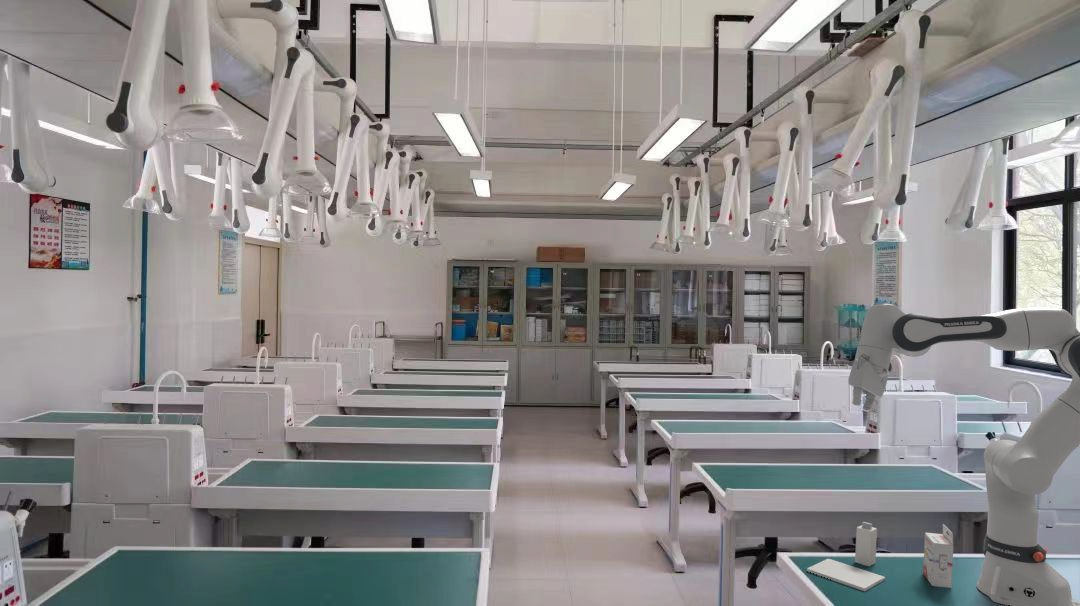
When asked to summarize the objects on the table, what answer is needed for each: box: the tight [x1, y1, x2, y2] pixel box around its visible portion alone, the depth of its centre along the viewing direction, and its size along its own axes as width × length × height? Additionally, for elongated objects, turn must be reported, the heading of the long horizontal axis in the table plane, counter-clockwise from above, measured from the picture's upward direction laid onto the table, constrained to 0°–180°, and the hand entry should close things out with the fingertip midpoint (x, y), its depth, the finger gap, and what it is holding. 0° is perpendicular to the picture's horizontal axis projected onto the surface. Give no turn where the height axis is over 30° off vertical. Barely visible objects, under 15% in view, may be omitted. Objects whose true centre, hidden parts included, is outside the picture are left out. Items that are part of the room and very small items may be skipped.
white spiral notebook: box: [806, 558, 886, 592], centre depth 198 cm, size 16×12×1 cm
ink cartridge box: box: [922, 523, 954, 589], centre depth 196 cm, size 9×5×15 cm, turn 168°
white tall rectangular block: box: [854, 521, 878, 567], centre depth 208 cm, size 4×4×11 cm
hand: (861, 407), depth 202 cm, fingers open, 8 cm apart
